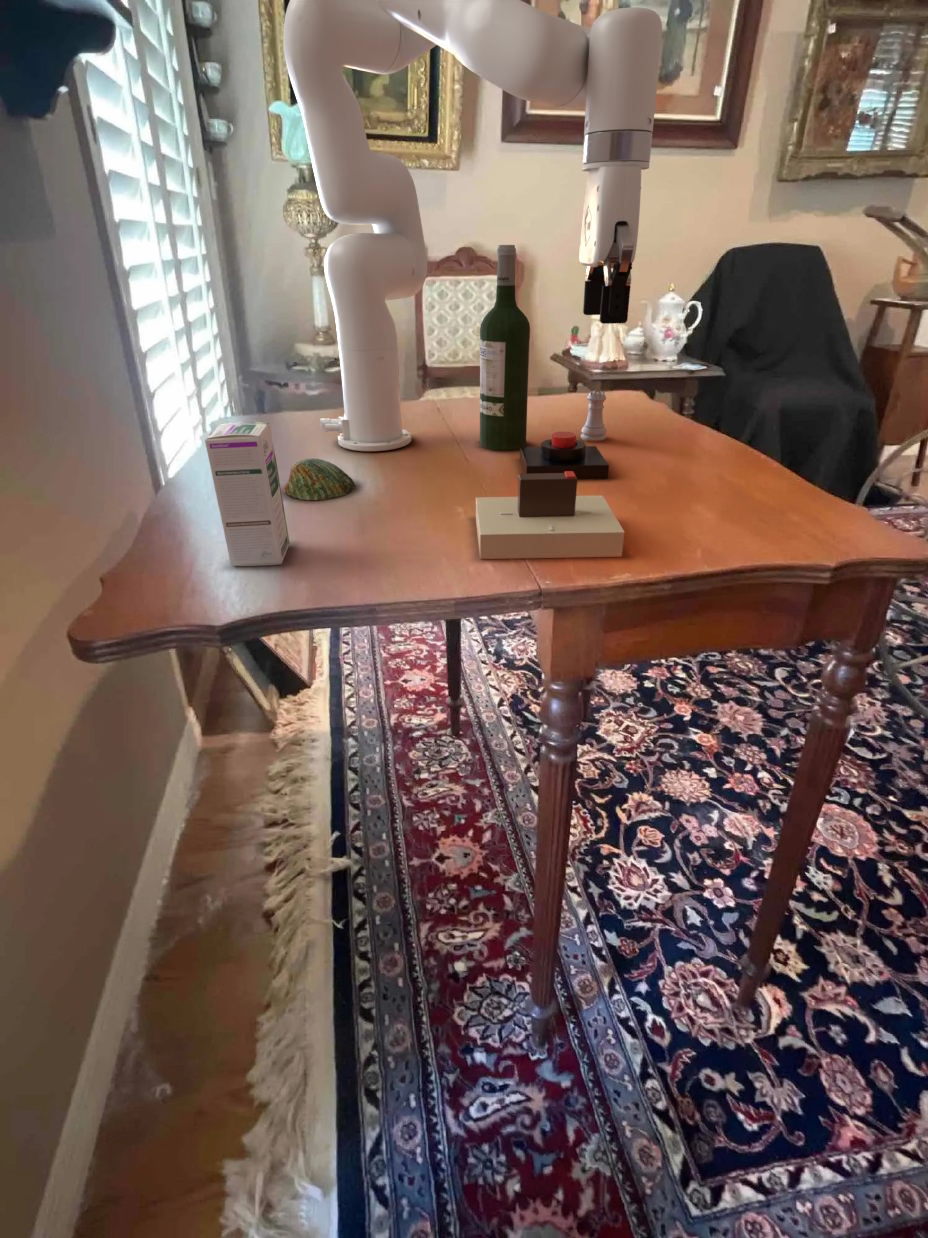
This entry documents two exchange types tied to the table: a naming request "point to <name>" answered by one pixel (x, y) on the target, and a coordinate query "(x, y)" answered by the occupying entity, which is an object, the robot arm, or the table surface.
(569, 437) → the button
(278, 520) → the syrup box
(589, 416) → the rook chess piece
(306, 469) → the seashell
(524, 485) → the handle
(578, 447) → the button block
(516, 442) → the wine bottle
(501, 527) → the panel
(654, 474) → the table surface
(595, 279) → the robot arm
